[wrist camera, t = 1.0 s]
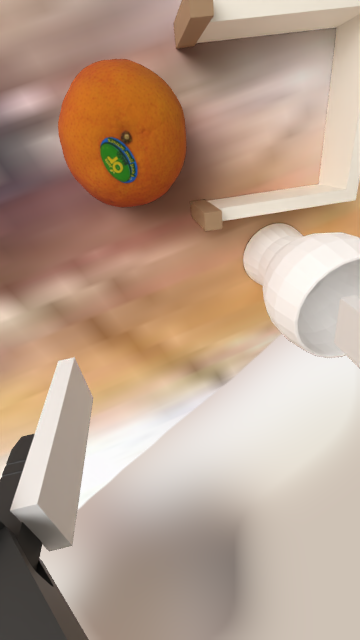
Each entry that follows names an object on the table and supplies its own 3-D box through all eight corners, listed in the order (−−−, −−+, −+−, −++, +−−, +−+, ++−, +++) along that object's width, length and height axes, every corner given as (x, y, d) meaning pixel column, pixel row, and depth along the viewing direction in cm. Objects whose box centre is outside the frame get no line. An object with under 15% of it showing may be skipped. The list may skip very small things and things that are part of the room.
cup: (318, 203, 34) (431, 235, 22) (308, 286, 40) (394, 351, 27) (230, 218, 34) (292, 260, 21) (233, 299, 39) (283, 373, 26)
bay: (191, 216, 33) (205, 231, 27) (173, 23, 25) (188, -17, 19) (326, 195, 34) (369, 205, 28) (352, 4, 26) (419, -40, 20)
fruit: (106, 39, 25) (97, -2, 18) (199, 129, 29) (221, 123, 22) (48, 155, 28) (23, 157, 21) (140, 220, 32) (143, 239, 26)
